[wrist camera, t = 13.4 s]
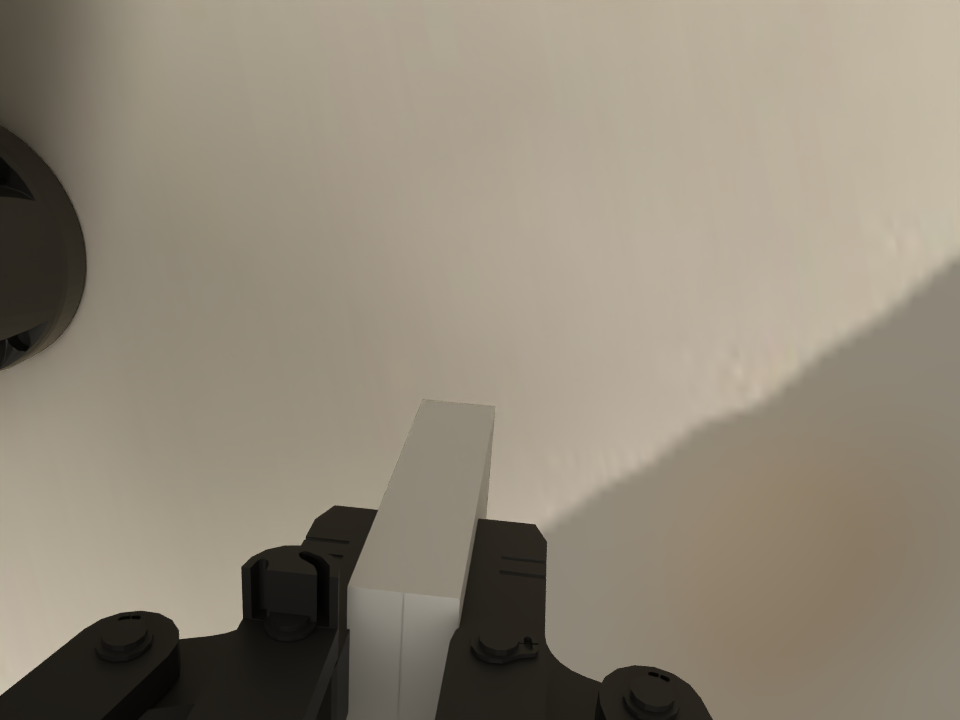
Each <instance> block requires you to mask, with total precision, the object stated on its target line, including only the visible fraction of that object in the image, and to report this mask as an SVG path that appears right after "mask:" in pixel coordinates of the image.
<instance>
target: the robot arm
mask: <svg viewBox="0 0 960 720" xmlns="http://www.w3.org/2000/svg"><path fill="white" fill-rule="evenodd" d="M84 279H85V251H84V243H83V239H82V234H81V230H80V226H79V223H78V220H77V217H76V214H75V212H74V209H73V207H72V205H71V203H70V201H69V199H68V197H67V195H66V193H65V191H64V189H63V188H62V186H61V184H60V183H59V181H58V180H57V178H56V177H55V175H54V174H53V173H52V171H51V170H50V169H49V168H48V166H47V165H46V164H45V163H44V162H43V161H42V159H41V158H40V157H39V156H38V155H37V154H36V153H35V152H34V151H33V150H32V149H31V148H30V147H29V146H27V145H26V144H25V143H24V142H23V141H21V140H20V139H19V138H18V137H16V136H15V135H14V134H12V133H11V132H9V131H8V130H6V129H5V128H3V127H1V126H0V371H2V370H5V369H8V368H10V367H12V366H14V365H17V364H18V363H20V362H22V361H24V360H26V359H28V358H29V357H31V356H33V355H35V354H37V353H38V352H40V351H42V350H43V349H45V348H46V347H48V346H49V345H50V344H51V343H53V342H54V341H55V340H56V339H57V338H58V337H59V336H60V335H61V334H62V332H63V331H64V330H65V329H66V327H67V326H68V324H69V323H70V321H71V319H72V318H73V316H74V314H75V312H76V310H77V307H78V305H79V302H80V299H81V295H82V291H83V286H84ZM494 415H495V406H486V405H475V404H465V403H455V402H445V401H434V400H424V399H423V400H422V403H421V405H420V408H419V410H418V413H417V415H416V418H415V420H414V422H413V425H412V427H411V430H410V432H409V435H408V437H407V440H406V442H405V445H404V447H403V450H402V452H401V455H400V457H399V460H398V462H397V465H396V467H395V470H394V472H393V475H392V477H391V480H390V482H389V485H388V487H387V490H386V492H385V494H384V497H383V499H382V502H381V504H380V507H379V509H378V510H374V509H364V508H355V507H345V506H336V505H335V506H333V507H332V508H330V509H329V510H328V511H326V512H325V513H323V514H322V515H321V516H319V517H318V518H316V519H315V521H314V522H313V524H312V526H311V528H310V530H309V532H308V534H307V536H306V540H304V541H303V543H302V545H301V546H281V547H276V548H272V549H267V550H265V551H263V552H261V553H259V554H257V555H255V556H253V557H251V558H250V559H249V560H248V561H247V562H246V563H245V564H244V565H243V566H242V567H241V570H242V600H243V620H242V621H241V623H240V625H239V627H238V628H237V630H234V631H231V632H228V633H225V634H219V635H214V636H206V637H197V638H188V639H179V630H178V629H177V627H176V625H175V624H174V622H173V621H172V620H171V619H169V618H167V617H165V616H163V615H161V614H159V613H153V612H146V611H135V612H124V613H119V614H116V615H113V616H110V617H107V618H103V619H101V620H99V621H97V622H96V623H94V624H92V625H91V626H89V627H87V628H85V629H84V630H83V631H81V632H80V633H79V634H78V635H76V636H75V637H74V638H73V639H71V640H70V641H69V642H67V643H66V644H65V645H64V646H62V647H61V648H60V649H59V650H57V651H56V652H55V653H54V654H52V655H51V656H50V657H49V658H47V659H46V660H45V661H44V662H42V663H41V664H40V665H38V666H37V667H36V668H35V669H33V670H32V671H31V672H30V673H28V674H27V675H26V676H25V677H23V678H22V679H21V680H20V681H18V682H17V683H16V684H15V685H13V686H12V687H11V688H9V689H8V690H7V691H6V692H4V693H3V694H2V695H1V696H0V720H713V719H712V718H711V716H710V714H709V712H708V710H707V708H706V707H705V705H704V703H703V701H702V699H701V698H700V697H699V696H698V694H697V693H696V692H695V690H694V689H693V688H692V687H691V686H690V685H689V684H688V683H686V682H685V681H683V680H682V679H680V678H679V677H677V676H676V675H674V674H672V673H670V672H667V671H664V670H661V669H658V668H655V667H648V666H636V665H634V666H629V667H624V668H619V669H617V670H615V671H613V672H612V673H610V674H609V675H607V676H606V677H605V678H604V680H603V682H602V683H601V682H598V681H595V680H593V679H590V678H587V677H585V676H582V675H580V674H578V673H576V672H574V671H571V670H570V669H569V668H567V667H566V666H564V665H563V664H562V663H560V662H559V661H558V660H557V659H556V658H555V657H554V655H553V654H552V653H551V651H550V650H549V648H548V646H547V644H546V639H545V601H546V600H545V599H546V598H545V597H546V556H547V555H546V553H547V541H546V540H545V538H544V537H543V535H542V534H541V532H540V531H539V529H538V528H537V526H536V525H535V524H526V523H516V522H507V521H498V520H488V519H486V513H487V501H488V489H489V476H490V464H491V452H492V439H493V427H494Z"/></svg>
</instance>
